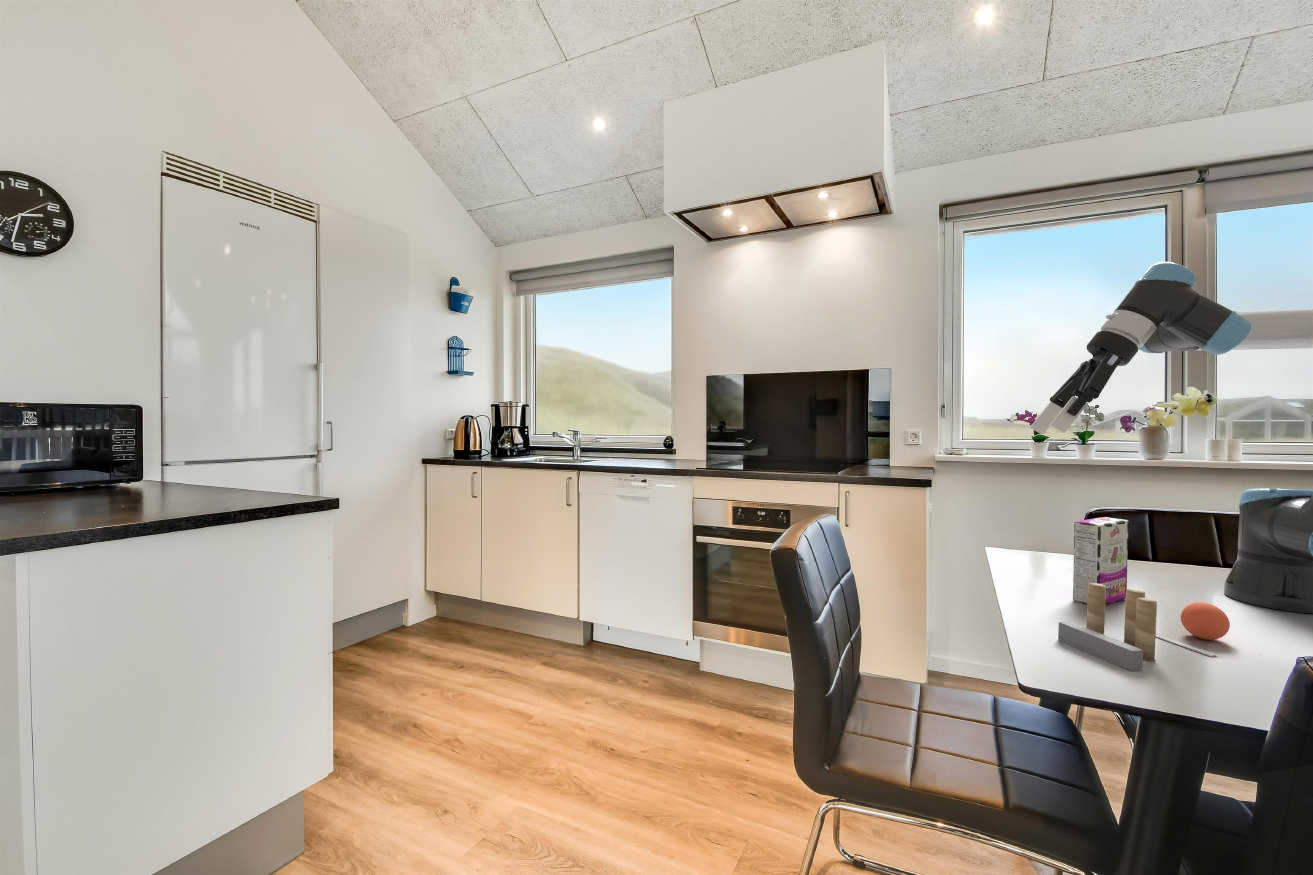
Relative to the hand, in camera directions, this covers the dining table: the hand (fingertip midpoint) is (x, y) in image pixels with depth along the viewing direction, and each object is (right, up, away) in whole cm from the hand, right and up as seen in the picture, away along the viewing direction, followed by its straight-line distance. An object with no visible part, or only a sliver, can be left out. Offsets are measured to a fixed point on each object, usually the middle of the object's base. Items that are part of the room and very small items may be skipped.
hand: (1045, 430), depth 114 cm
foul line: (+8, -35, -19) cm, 41 cm away
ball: (+15, -32, -18) cm, 40 cm away
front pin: (0, -35, -21) cm, 41 cm away
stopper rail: (-8, -35, -24) cm, 44 cm away
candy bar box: (+12, -35, +3) cm, 37 cm away
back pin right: (-4, -35, -17) cm, 39 cm away
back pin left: (-2, -36, -25) cm, 44 cm away
